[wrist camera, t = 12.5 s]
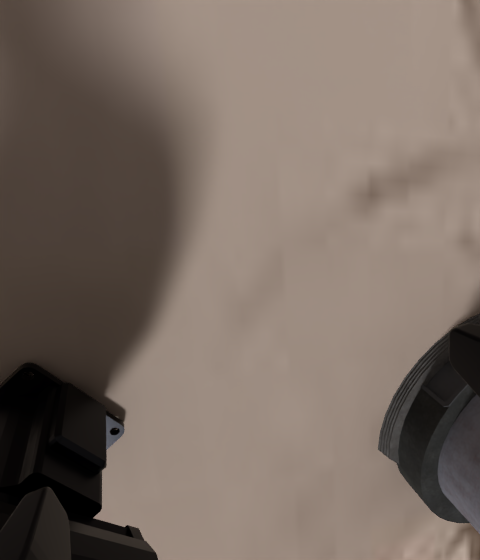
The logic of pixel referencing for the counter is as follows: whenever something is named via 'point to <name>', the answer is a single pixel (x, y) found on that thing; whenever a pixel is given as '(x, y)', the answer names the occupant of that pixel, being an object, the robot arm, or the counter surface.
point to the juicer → (437, 435)
